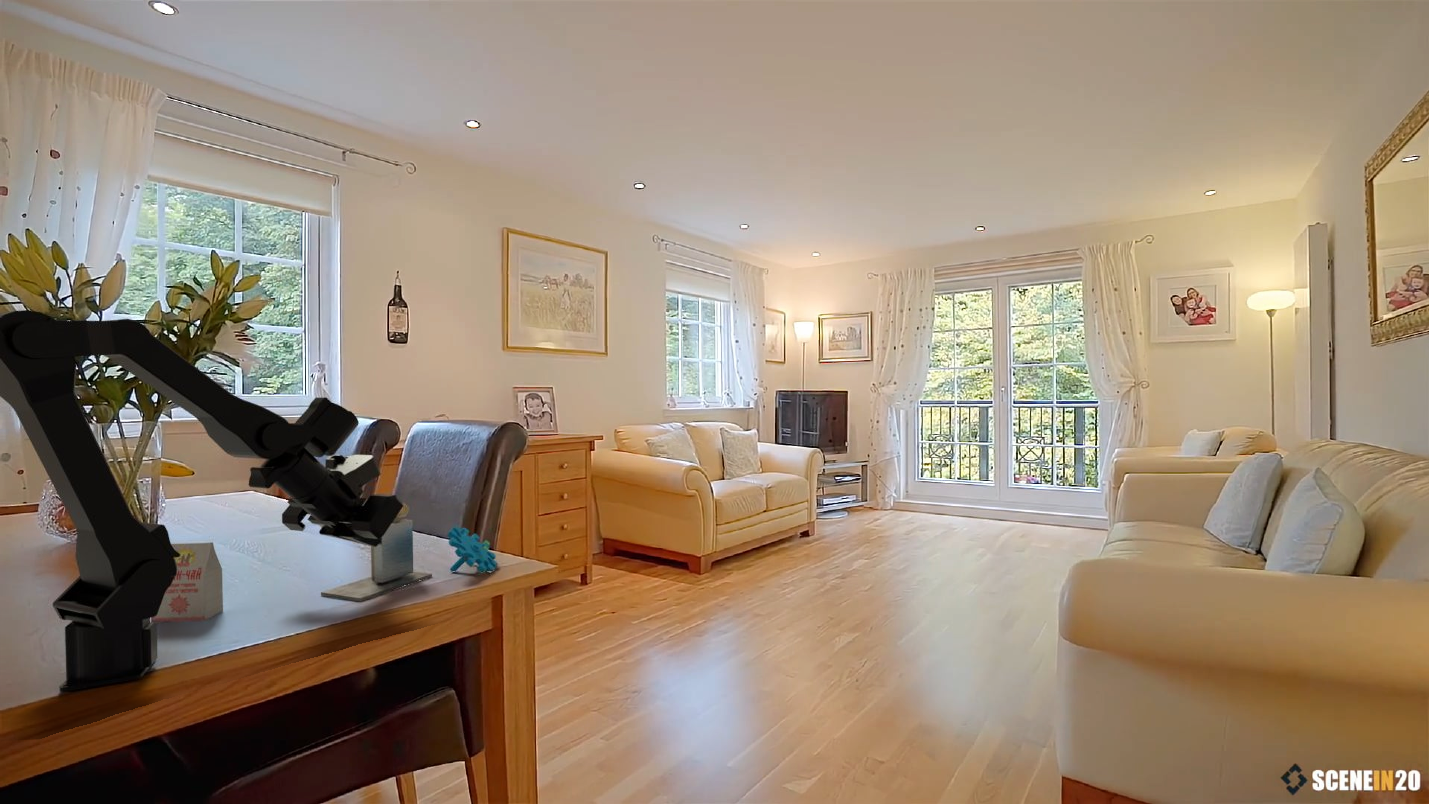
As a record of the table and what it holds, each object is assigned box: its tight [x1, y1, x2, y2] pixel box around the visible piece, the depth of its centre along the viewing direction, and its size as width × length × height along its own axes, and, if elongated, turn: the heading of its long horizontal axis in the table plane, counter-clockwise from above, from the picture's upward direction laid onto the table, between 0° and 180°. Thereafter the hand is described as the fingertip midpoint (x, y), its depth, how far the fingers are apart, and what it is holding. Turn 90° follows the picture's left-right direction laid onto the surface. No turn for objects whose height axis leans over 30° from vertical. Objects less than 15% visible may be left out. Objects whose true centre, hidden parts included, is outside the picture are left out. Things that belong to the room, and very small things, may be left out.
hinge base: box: [320, 502, 433, 602], centre depth 104 cm, size 14×8×12 cm, turn 158°
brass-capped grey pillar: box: [374, 518, 414, 583], centre depth 106 cm, size 7×4×11 cm, turn 158°
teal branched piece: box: [446, 525, 499, 574], centre depth 112 cm, size 11×6×10 cm
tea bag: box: [150, 541, 224, 623], centre depth 91 cm, size 4×7×10 cm, turn 94°
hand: (376, 544), depth 103 cm, fingers closed, pressing on brass-capped grey pillar
